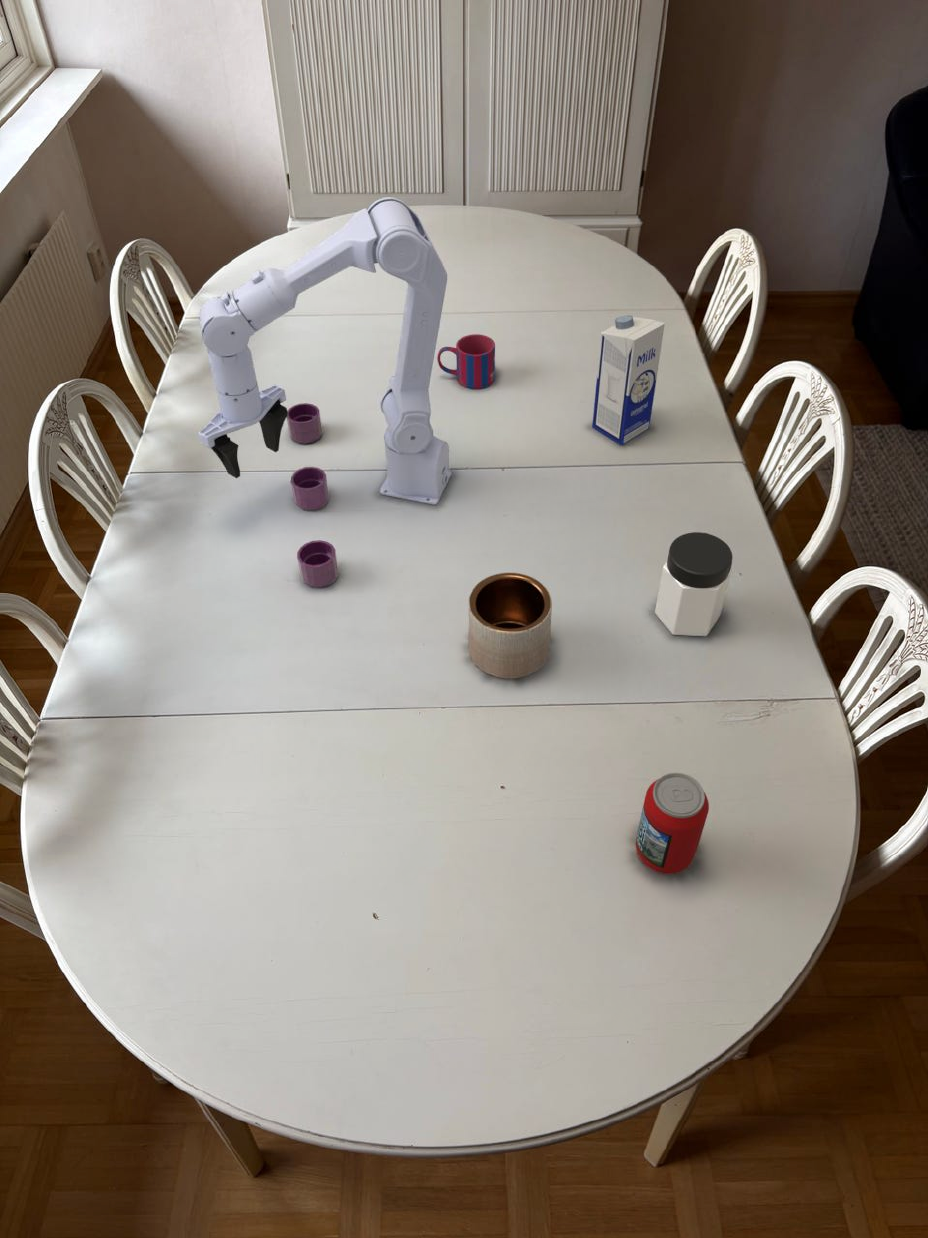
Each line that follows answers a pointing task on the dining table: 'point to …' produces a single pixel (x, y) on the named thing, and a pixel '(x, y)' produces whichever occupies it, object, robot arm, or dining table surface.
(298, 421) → the dish
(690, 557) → the jar
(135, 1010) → the dining table surface
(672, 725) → the dining table surface
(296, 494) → the dish
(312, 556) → the purple small cup
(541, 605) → the planter
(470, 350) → the mug
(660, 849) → the beverage can
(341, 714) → the dining table surface
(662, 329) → the milk carton
